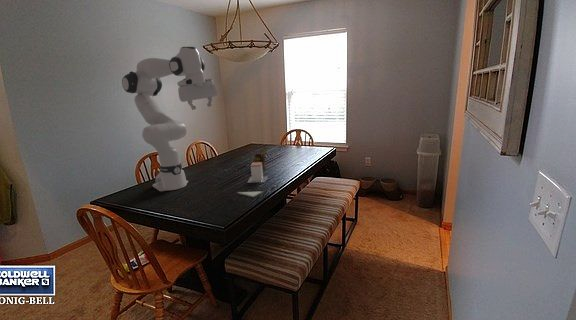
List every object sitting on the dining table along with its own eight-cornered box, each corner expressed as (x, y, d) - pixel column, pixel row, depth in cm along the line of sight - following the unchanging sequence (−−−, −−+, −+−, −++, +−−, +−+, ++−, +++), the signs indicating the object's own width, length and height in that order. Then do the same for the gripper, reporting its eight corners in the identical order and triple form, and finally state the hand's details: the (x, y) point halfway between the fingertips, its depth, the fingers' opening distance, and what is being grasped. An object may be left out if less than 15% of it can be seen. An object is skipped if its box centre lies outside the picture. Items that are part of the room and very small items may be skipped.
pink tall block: (252, 181, 171) (250, 165, 168) (253, 178, 177) (252, 162, 174) (261, 180, 171) (260, 164, 168) (263, 177, 176) (261, 162, 174)
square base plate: (247, 184, 169) (246, 174, 167) (250, 178, 180) (249, 169, 178) (265, 183, 168) (264, 173, 167) (267, 178, 179) (267, 168, 177)
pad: (237, 193, 155) (237, 191, 155) (252, 186, 165) (252, 185, 164) (253, 197, 148) (253, 195, 148) (268, 190, 158) (267, 188, 157)
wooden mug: (261, 174, 188) (259, 147, 183) (251, 170, 198) (248, 145, 193) (272, 171, 193) (270, 145, 189) (261, 167, 203) (259, 143, 199)
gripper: (209, 79, 151) (215, 105, 155) (174, 83, 136) (181, 111, 140) (216, 77, 147) (222, 104, 150) (180, 81, 132) (187, 111, 136)
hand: (202, 108), depth 145 cm, fingers open, 8 cm apart
